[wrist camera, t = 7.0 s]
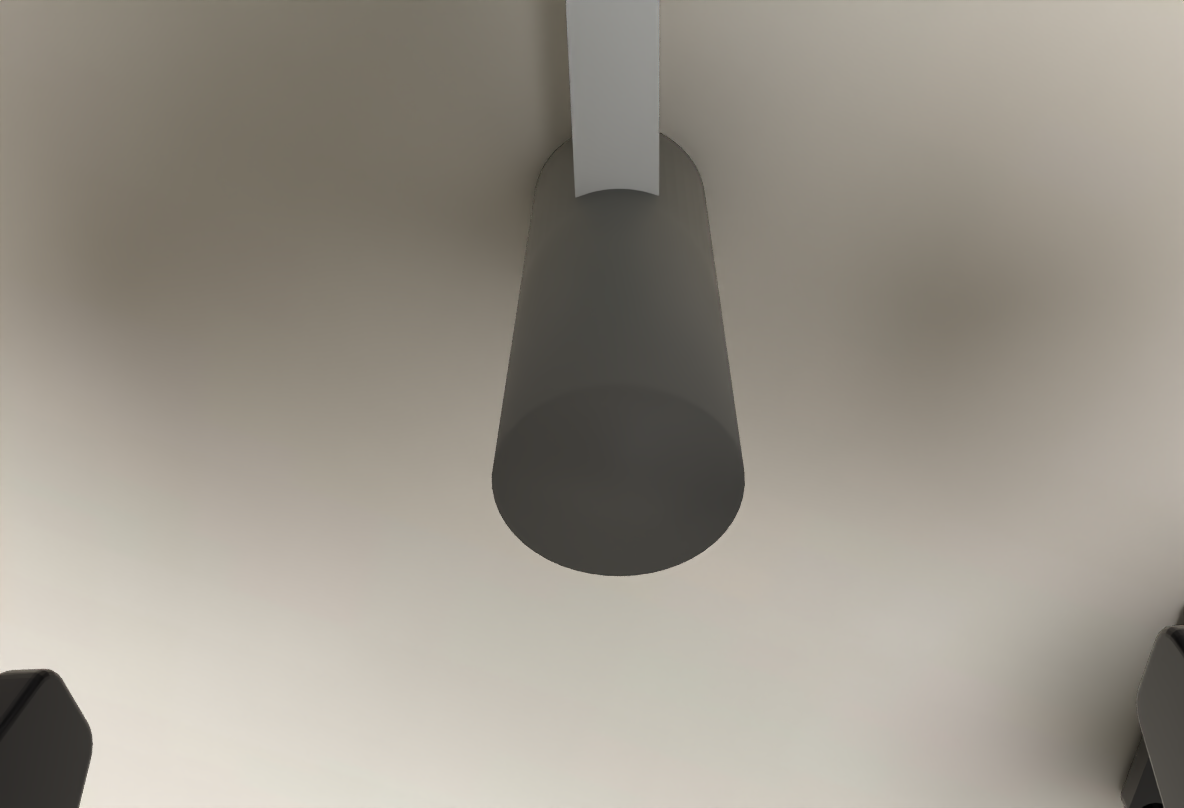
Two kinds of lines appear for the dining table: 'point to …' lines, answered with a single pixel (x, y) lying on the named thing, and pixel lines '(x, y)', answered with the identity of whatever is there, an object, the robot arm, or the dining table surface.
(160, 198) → the dining table surface
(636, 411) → the block
